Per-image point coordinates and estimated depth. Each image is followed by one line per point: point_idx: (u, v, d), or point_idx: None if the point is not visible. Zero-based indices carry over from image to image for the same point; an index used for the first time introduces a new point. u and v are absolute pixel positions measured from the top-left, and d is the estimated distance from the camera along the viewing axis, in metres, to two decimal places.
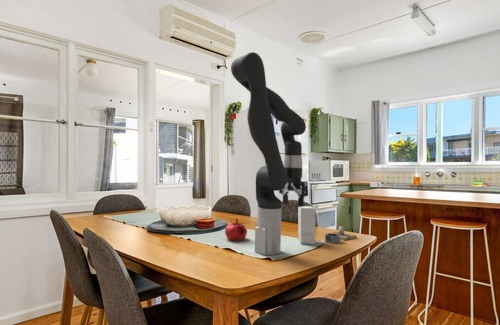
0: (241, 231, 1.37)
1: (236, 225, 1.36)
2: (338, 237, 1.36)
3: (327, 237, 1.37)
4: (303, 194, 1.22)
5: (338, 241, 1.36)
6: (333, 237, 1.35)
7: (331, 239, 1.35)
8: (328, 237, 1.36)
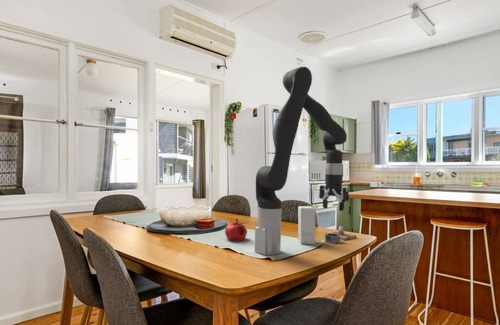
0: (241, 231, 1.37)
1: (236, 225, 1.36)
2: (338, 237, 1.36)
3: (327, 237, 1.37)
4: (344, 199, 1.33)
5: (338, 241, 1.36)
6: (333, 237, 1.35)
7: (331, 239, 1.35)
8: (328, 237, 1.36)
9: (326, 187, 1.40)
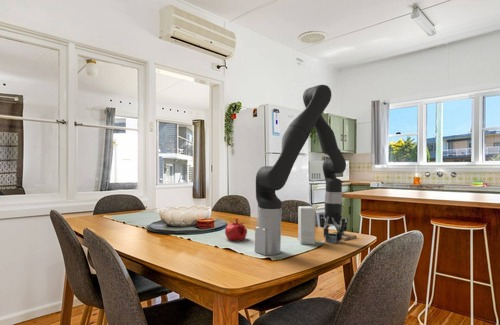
0: (241, 231, 1.37)
1: (236, 225, 1.36)
2: None
3: (327, 237, 1.37)
4: (342, 230, 1.33)
5: (338, 241, 1.36)
6: (333, 237, 1.35)
7: (331, 239, 1.35)
8: (328, 237, 1.36)
9: (325, 215, 1.40)
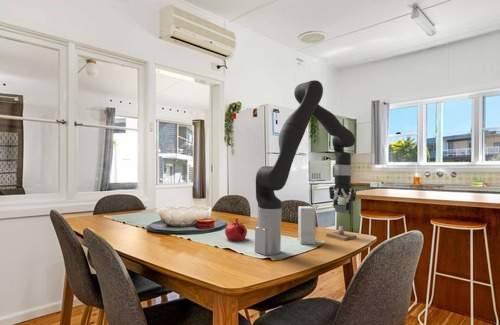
0: (241, 231, 1.37)
1: (236, 225, 1.36)
2: None
3: (337, 207, 1.46)
4: (351, 199, 1.42)
5: (347, 211, 1.45)
6: (343, 207, 1.45)
7: (341, 209, 1.45)
8: (338, 207, 1.46)
9: (335, 187, 1.49)
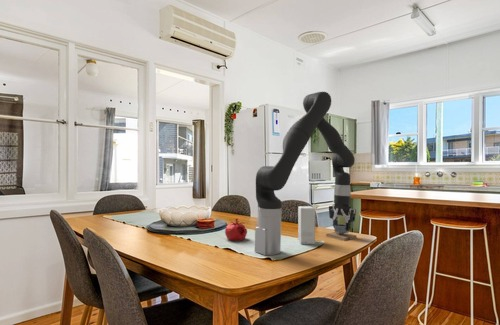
0: (241, 231, 1.37)
1: (236, 225, 1.36)
2: None
3: (336, 227, 1.46)
4: (351, 220, 1.42)
5: (347, 231, 1.45)
6: (342, 227, 1.45)
7: (340, 229, 1.45)
8: (337, 227, 1.46)
9: (335, 207, 1.49)
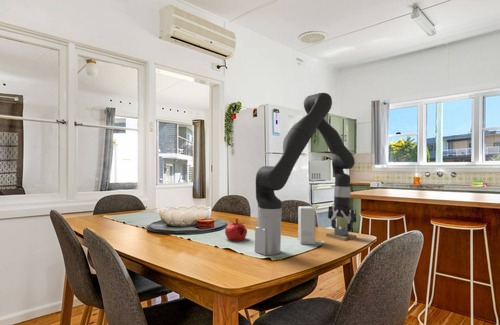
0: (241, 231, 1.37)
1: (236, 225, 1.36)
2: None
3: (336, 230, 1.46)
4: (352, 221, 1.42)
5: (347, 234, 1.45)
6: (342, 230, 1.45)
7: (340, 232, 1.45)
8: (337, 230, 1.46)
9: (335, 208, 1.49)
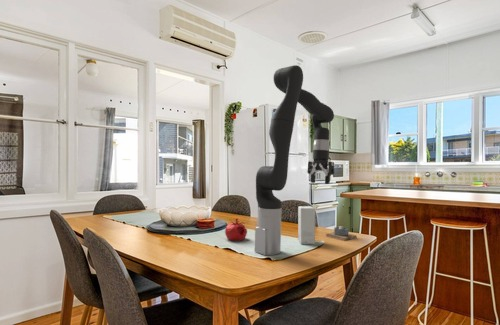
0: (241, 231, 1.37)
1: (236, 225, 1.36)
2: (347, 230, 1.45)
3: (336, 230, 1.46)
4: (330, 172, 1.42)
5: (347, 234, 1.45)
6: (342, 230, 1.45)
7: (340, 232, 1.45)
8: (337, 230, 1.46)
9: (314, 162, 1.50)
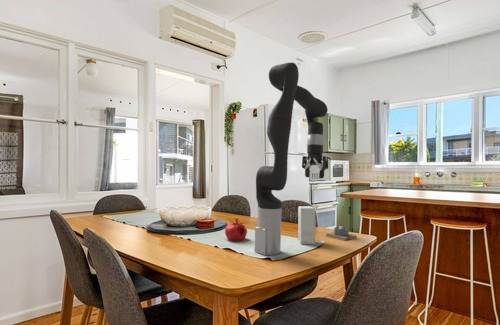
0: (241, 231, 1.37)
1: (236, 225, 1.36)
2: (347, 230, 1.45)
3: (336, 230, 1.46)
4: (324, 167, 1.43)
5: (347, 234, 1.45)
6: (342, 230, 1.45)
7: (340, 232, 1.45)
8: (337, 230, 1.46)
9: (308, 157, 1.50)
